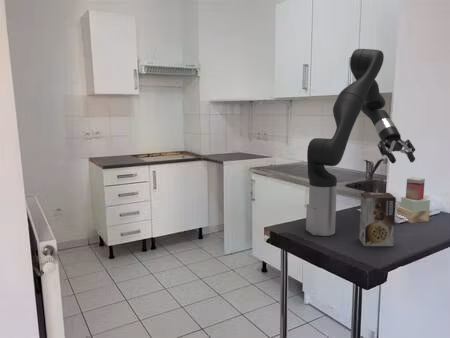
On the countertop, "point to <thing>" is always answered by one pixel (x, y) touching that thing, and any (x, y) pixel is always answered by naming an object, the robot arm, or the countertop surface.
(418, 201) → the sage top block
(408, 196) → the small box
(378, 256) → the countertop surface
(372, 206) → the cookie box
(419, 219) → the oak base block
